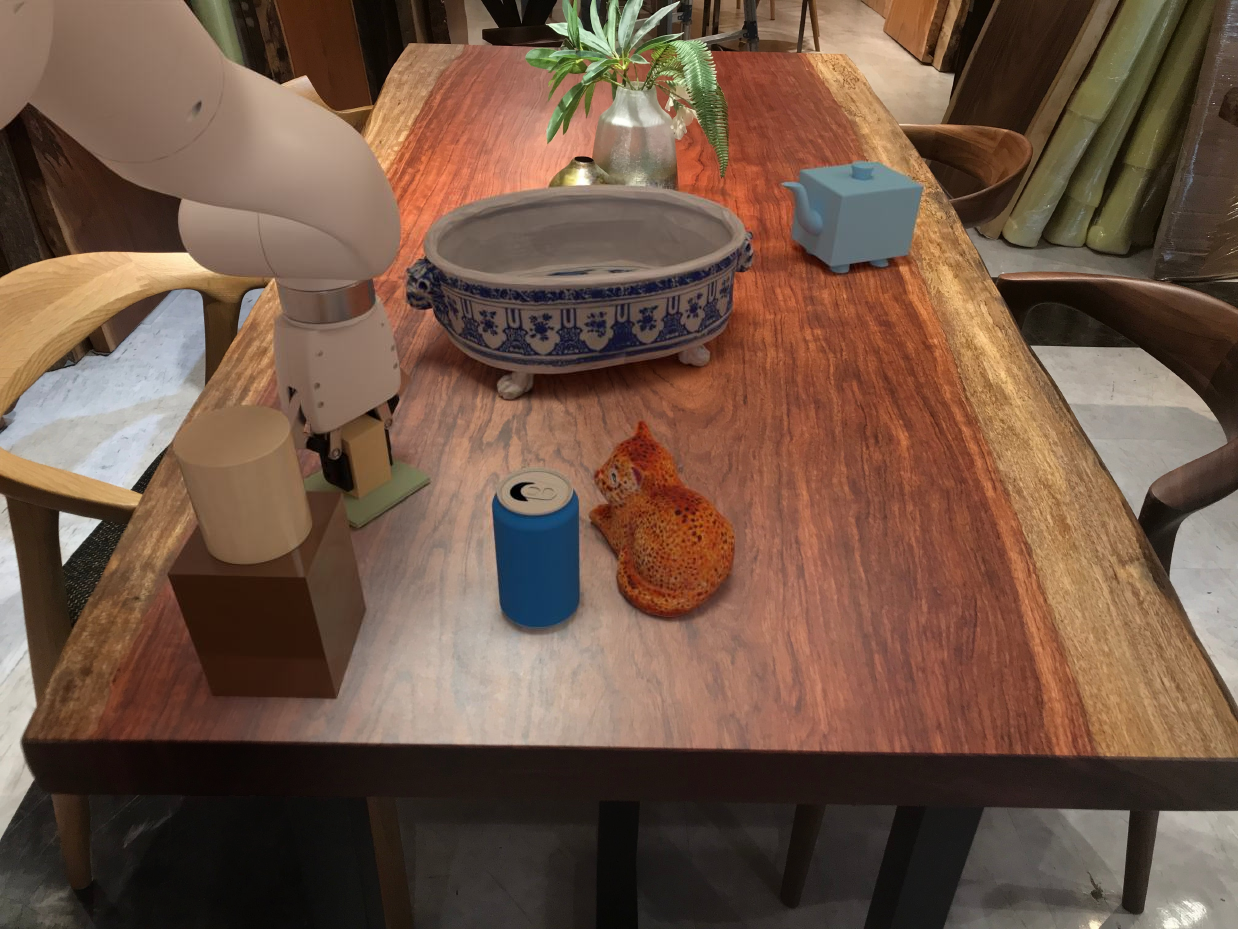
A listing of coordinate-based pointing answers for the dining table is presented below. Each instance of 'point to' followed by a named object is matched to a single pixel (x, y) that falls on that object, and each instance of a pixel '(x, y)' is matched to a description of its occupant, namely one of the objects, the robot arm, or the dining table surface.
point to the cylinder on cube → (263, 561)
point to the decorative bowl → (581, 278)
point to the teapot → (854, 213)
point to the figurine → (660, 529)
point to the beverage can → (537, 546)
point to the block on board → (377, 497)
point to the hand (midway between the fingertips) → (360, 471)
